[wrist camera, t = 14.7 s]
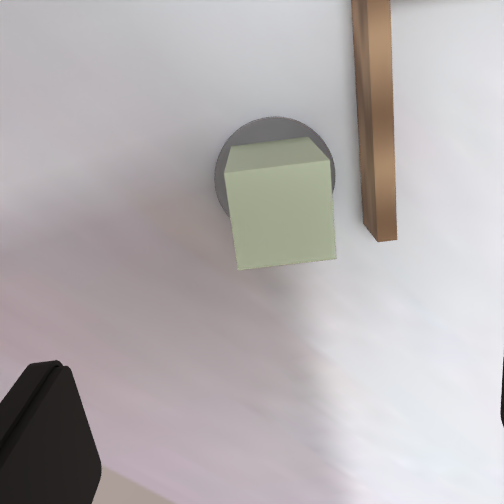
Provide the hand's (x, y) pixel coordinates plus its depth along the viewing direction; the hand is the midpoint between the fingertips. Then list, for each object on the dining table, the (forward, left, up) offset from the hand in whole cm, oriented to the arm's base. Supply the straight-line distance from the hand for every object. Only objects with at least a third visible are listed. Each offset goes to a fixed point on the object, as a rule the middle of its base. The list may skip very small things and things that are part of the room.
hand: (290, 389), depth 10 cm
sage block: (0, +1, -23) cm, 23 cm away
